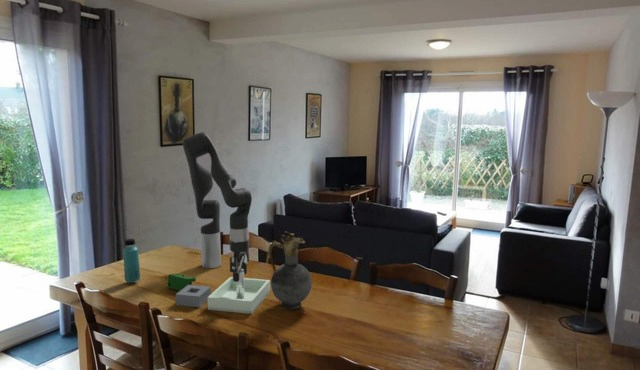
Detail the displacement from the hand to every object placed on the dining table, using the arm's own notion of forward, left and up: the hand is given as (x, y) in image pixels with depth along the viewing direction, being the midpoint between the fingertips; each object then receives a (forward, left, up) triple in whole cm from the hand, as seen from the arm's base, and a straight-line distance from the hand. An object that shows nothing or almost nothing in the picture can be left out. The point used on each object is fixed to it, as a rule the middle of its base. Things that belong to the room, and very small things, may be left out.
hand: (240, 277), depth 174 cm
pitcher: (0, +20, -10) cm, 22 cm away
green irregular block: (-7, -30, -10) cm, 32 cm away
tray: (0, 0, -10) cm, 10 cm away
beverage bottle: (-7, -54, -10) cm, 55 cm away
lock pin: (0, 0, -9) cm, 9 cm away
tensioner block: (+5, -18, -10) cm, 21 cm away
